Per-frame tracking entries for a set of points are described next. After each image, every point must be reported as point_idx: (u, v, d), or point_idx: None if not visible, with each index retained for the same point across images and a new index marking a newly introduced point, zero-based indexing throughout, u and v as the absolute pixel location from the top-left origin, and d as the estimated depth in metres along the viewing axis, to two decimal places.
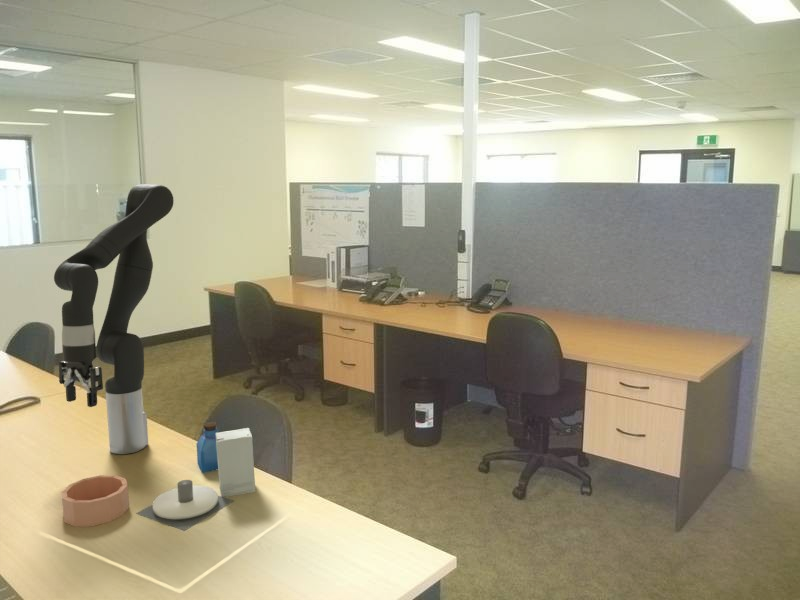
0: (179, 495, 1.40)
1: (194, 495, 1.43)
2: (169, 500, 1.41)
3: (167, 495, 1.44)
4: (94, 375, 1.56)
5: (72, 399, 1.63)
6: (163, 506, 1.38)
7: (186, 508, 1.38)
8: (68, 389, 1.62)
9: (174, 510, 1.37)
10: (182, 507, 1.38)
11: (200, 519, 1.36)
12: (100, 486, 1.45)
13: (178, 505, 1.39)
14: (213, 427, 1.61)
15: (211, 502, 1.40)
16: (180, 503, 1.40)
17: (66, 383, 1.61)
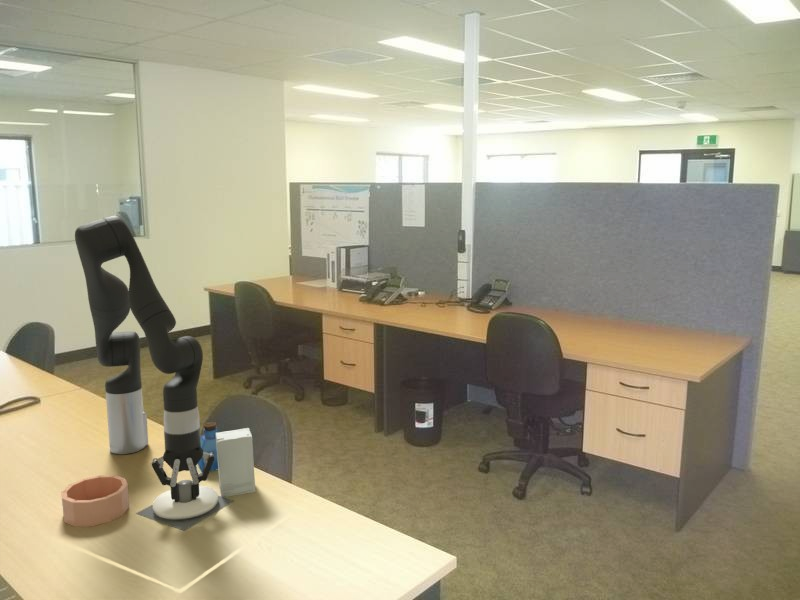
0: (179, 495, 1.40)
1: None
2: (169, 500, 1.41)
3: (167, 495, 1.44)
4: None
5: None
6: (163, 506, 1.38)
7: (186, 508, 1.38)
8: (192, 482, 1.42)
9: (174, 510, 1.37)
10: (182, 507, 1.38)
11: (200, 519, 1.36)
12: (100, 486, 1.45)
13: (178, 505, 1.39)
14: (213, 427, 1.61)
15: (211, 502, 1.40)
16: (180, 503, 1.40)
17: None
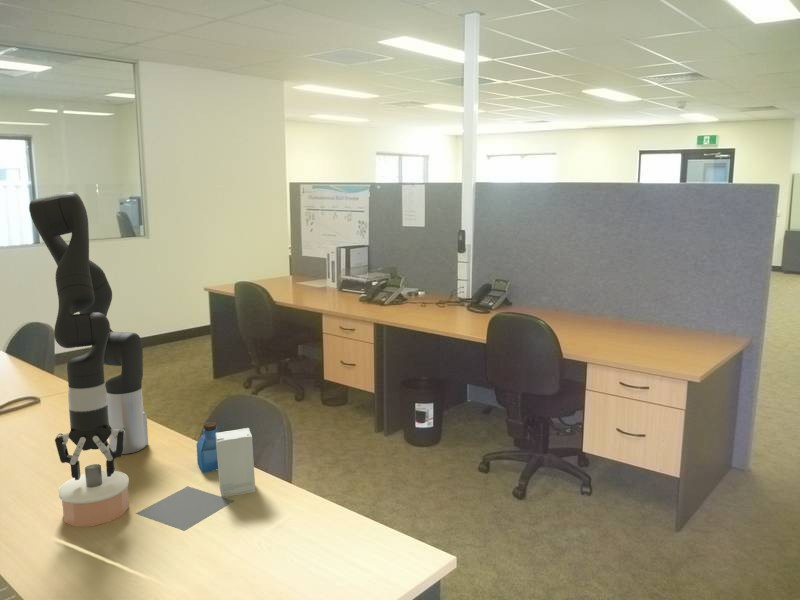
0: (86, 479, 1.37)
1: (104, 480, 1.41)
2: (77, 485, 1.38)
3: None
4: None
5: None
6: (69, 490, 1.35)
7: (92, 492, 1.35)
8: None
9: (79, 494, 1.34)
10: (88, 491, 1.35)
11: (200, 519, 1.36)
12: None
13: (85, 490, 1.36)
14: (213, 427, 1.61)
15: (119, 487, 1.37)
16: (87, 488, 1.37)
17: None
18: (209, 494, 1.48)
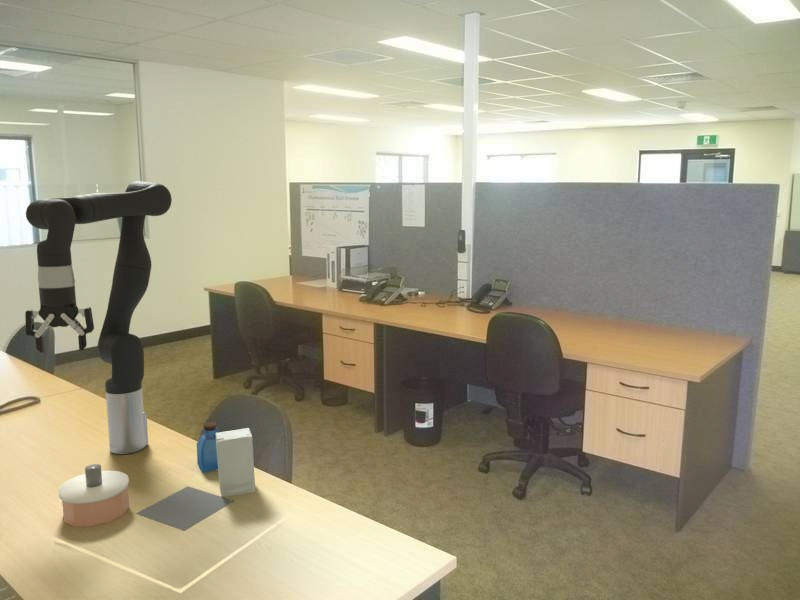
0: (86, 479, 1.37)
1: (104, 480, 1.41)
2: (77, 485, 1.38)
3: (76, 479, 1.41)
4: None
5: None
6: (69, 490, 1.35)
7: (92, 492, 1.35)
8: None
9: (79, 494, 1.34)
10: (88, 491, 1.35)
11: (200, 519, 1.36)
12: None
13: (85, 490, 1.36)
14: (213, 427, 1.61)
15: (119, 487, 1.37)
16: (87, 488, 1.37)
17: None
18: (209, 494, 1.48)
